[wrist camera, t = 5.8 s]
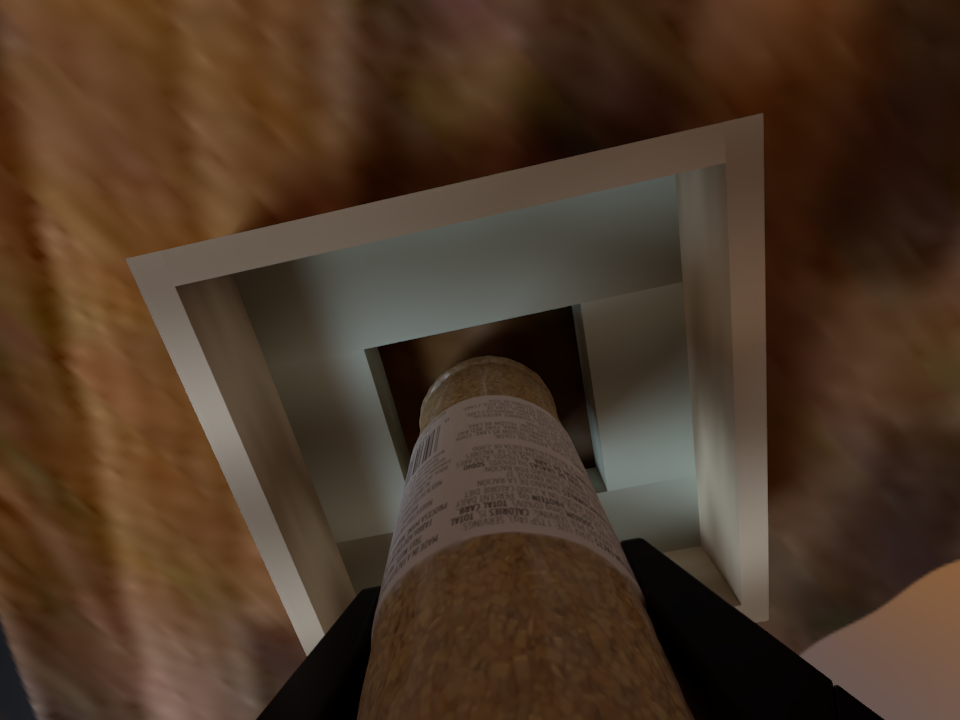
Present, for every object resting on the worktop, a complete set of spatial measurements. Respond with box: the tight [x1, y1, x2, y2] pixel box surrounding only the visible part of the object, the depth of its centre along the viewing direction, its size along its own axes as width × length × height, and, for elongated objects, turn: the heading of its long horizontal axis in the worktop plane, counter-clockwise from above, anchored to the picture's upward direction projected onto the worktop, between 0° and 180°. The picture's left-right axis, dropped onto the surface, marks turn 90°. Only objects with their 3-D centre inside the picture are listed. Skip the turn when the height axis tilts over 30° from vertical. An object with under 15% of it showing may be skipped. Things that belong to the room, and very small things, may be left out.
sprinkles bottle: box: [357, 355, 695, 720], centre depth 9 cm, size 5×5×14 cm
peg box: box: [126, 113, 769, 656], centre depth 14 cm, size 14×14×4 cm
